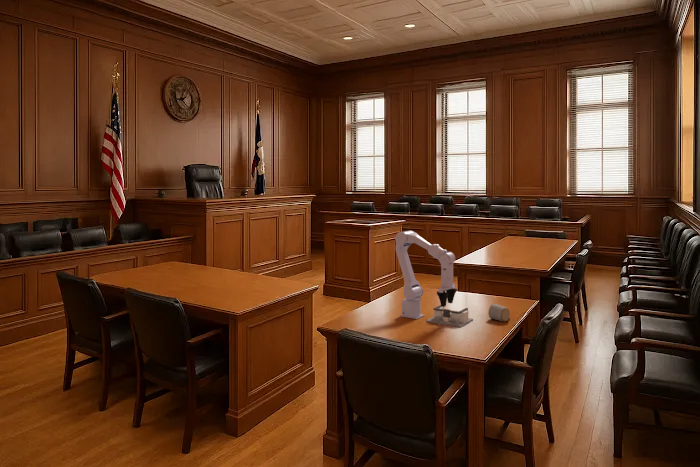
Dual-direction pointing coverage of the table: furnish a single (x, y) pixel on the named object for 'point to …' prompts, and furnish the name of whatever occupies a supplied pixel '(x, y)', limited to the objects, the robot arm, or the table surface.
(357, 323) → the table surface
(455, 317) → the glasses
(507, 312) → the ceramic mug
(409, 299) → the robot arm
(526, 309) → the table surface
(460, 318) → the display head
